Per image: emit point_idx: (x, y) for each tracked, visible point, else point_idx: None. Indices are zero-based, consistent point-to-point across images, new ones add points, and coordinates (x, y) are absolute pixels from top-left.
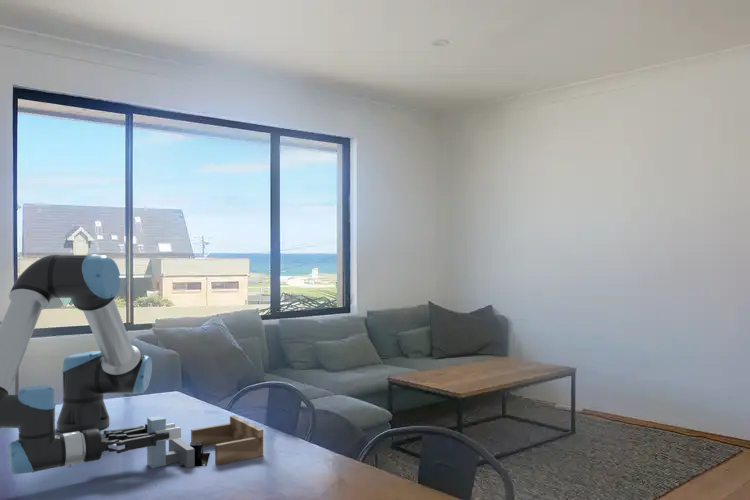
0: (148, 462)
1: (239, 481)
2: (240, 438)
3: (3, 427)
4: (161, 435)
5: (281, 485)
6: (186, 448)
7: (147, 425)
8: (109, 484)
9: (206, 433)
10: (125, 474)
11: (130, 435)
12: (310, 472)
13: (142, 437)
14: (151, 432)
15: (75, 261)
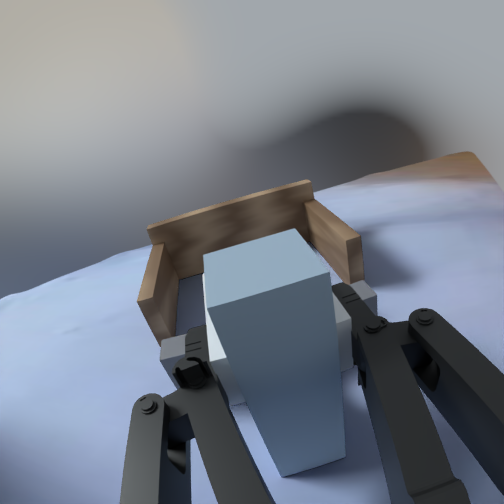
0: (298, 467)
1: (478, 244)
2: (222, 248)
3: None
4: (367, 310)
5: (483, 207)
6: None
7: (231, 354)
8: None
9: (163, 287)
10: None
11: (407, 470)
12: (421, 192)
13: (478, 364)
14: (335, 346)
15: None
